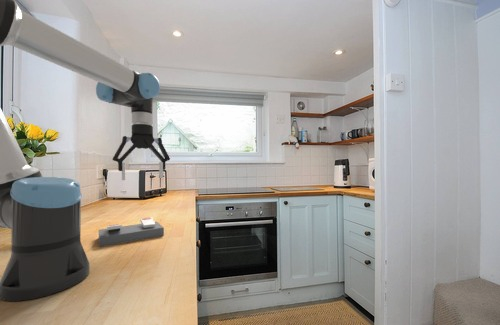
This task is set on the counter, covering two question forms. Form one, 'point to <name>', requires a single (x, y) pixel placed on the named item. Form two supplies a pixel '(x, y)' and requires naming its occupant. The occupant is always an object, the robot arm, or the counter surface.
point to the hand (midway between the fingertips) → (143, 179)
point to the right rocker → (147, 222)
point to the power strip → (129, 234)
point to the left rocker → (114, 226)
